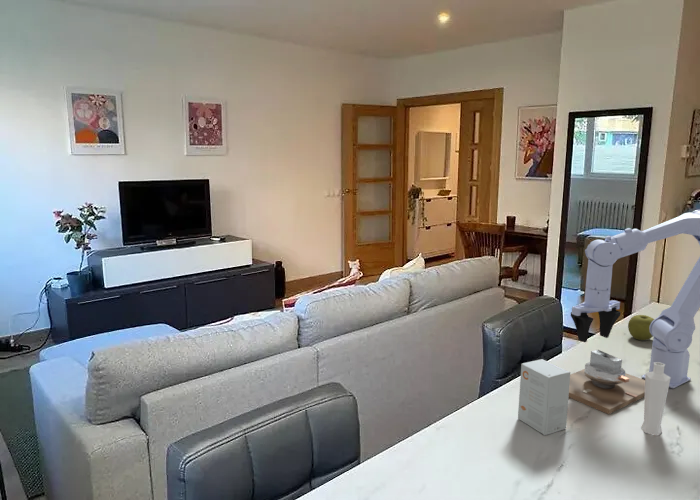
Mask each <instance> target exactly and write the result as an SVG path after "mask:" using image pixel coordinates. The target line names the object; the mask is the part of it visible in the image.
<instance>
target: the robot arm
mask: <svg viewBox="0 0 700 500" xmlns="http://www.w3.org/2000/svg"><path fill="white" fill-rule="evenodd" d="M682 234H684V235H691V236H692V237H694V239H696V241H697V243H698V244H699V246H700V209H696V210H693V211H692V212H690V211H689V212H684V213H682V214H681V215H678V216H677V217H673V218H671V219H669V220H666V221H664V222H662V223H659V224H656V225H654V226H652V227H649V228H647V229H644V230H640V229H638V228H633V229H632V228H630V227H627V228H624V231H623V232H621V233H617V234H615V235H612V236H610V235H607V236H605V237H604V238H605V239H604V240H603V239H595V240H592V241H590V242H589V244H587V247H586V249H585V250H584V253H585V257H586V258H587V259H588V260H587V269H586V270H587V271H586V278H585V289H584V290H585V292H584V301H583V302H582V303H580V304H577V305H574V306H572V307H571V312H570V318H571V319H572V321H573V323H574V326H575V329H576V334H577V340H578V341H581V342H582V343H587V342H588V338H589V331H590V327H591V325H592V323H593V322H594V318H593V317H591V316H589V314H591V313H598V319H599V336H601V337H603V338H606V339H608V338H609V337H610V335H611V332H612V330H613V327H614V325H615V323H616V322H617V321H618V319H619V318H620V316H621V311H619V310H620V308H621V307H620V306H621V301H618V300H615V299H614V300H613V299H611V287H612V277H613V265H614V264H615V263H616V261H617V260H619V259H622V258H624V257H628V256H630V255H633V254H636V253H640V252H642V251H644V250H645V249H647V247H648V245H649V244H650V243H654V242H658V241H661V240H664V239H668V238H670V237H674V236H677V235H682ZM610 299H611V300H610ZM699 309H700V256H699V257H698V259H697V261H696V263H695V264H694V266H693V267H692V269H691V271H690V273H689V274H688V277H687V278H686V280H685V281H684V283H683V284H682V286H681V288H680V290H679V291H678V293H677V295H676V296H675V299H674V301H673V302H672V303H671V306H669V307H668V308H665V309H663V310H662V311H661V313H660V314H659V315H658V316H657V317H656V318H653V319H654V320H653V321H652V322H651V324H650V327H649V330H650V333H651V335H652V336H653V337H652V338H653V339H652V345H651V350H650V351H651V352H650V361H649V369H648V372H652V371H653V369H654V362H660V363H663V364H665V366H664V374H666V375H667V376H669V377H671V379H670V383H669V388H671V389H676V388H677V387H680V386H681V385H684V384H685V383H687V382H689V381H691V380H692V379H691V377H689V376H688V372H689V364H690V351H689V350H688V348H690V347H691V344H692V341H693V334H694V332H695V330H696V324H695V319H694V318H695V316H696V314H697V313H698V311H699ZM641 379H643V380H645V373H644V374H643V375H641Z"/></svg>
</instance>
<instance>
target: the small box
mask: <svg viewBox="0 0 700 500" xmlns="http://www.w3.org/2000/svg"><path fill="white" fill-rule="evenodd" d="M520 365H521V366H520V378H519V379H520V380H519V395H518V396H519V397H518V411H517V419H518V420H520V421H521V422H523V423H525V424H526V425H528V426H529V427H531V428H532V429H534V430H536V431H538V432H539V433H540V434H542V435H544V436H547V435H550V434H554V433H556V432H560V431H562V430H566V429H567V421H568V420H567V419H568V410H569V408H568V407H569V398H570V397H569V384H570V375H571V371H568V370H566V368H562V367H560V366H557V365H556V364H554V363H550V361H548V360H545V359H543V358H541V359H536V360H532V361H527V362H523V363H521V364H520Z"/></svg>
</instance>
